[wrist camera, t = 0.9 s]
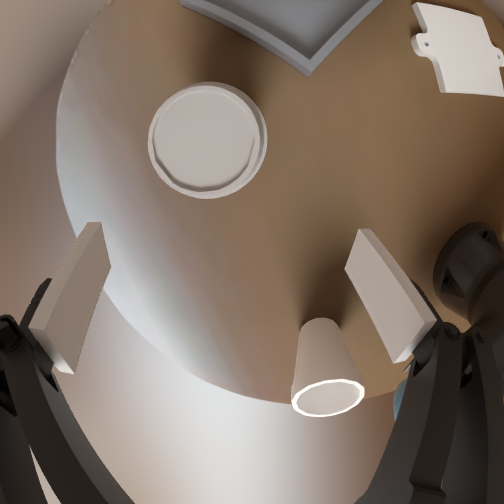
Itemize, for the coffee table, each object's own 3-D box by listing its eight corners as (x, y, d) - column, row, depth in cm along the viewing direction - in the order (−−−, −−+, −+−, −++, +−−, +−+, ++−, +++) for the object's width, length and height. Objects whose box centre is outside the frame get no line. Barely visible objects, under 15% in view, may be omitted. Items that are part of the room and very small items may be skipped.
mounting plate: (484, 22, 15) (491, 20, 14) (505, 97, 21) (513, 98, 19) (394, 4, 19) (400, 0, 17) (423, 92, 24) (431, 91, 22)
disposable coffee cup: (182, 102, 27) (134, 95, 17) (264, 90, 26) (259, 70, 16) (193, 178, 32) (154, 209, 21) (273, 170, 31) (272, 197, 20)
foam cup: (284, 316, 40) (285, 387, 29) (344, 303, 38) (364, 371, 27) (296, 356, 44) (298, 421, 32) (349, 345, 42) (363, 408, 31)
